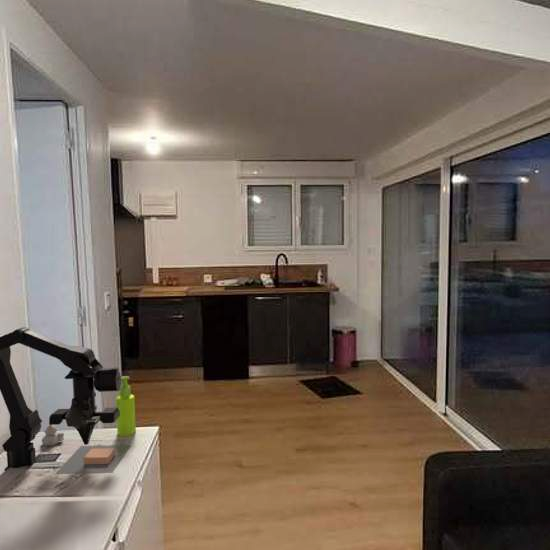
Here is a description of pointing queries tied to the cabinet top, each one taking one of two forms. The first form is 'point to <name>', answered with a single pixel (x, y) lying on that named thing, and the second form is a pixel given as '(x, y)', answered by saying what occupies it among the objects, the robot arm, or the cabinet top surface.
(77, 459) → the slate board
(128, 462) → the cabinet top surface
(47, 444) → the grey lumpy pointed piece
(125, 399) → the soap dispenser
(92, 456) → the tile
